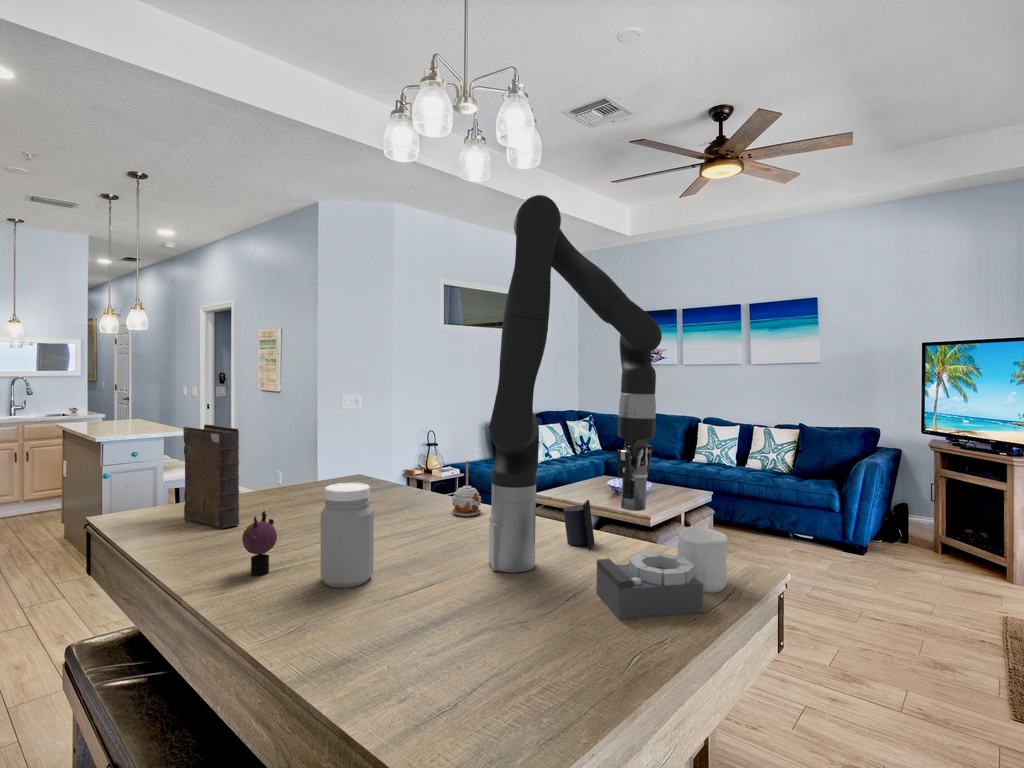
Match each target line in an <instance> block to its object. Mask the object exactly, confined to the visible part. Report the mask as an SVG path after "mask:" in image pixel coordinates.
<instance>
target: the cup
mask: <svg viewBox="0 0 1024 768" xmlns="http://www.w3.org/2000/svg"><path fill="white" fill-rule="evenodd" d="M677 537H678V540H677V542H678V543H677V553H676V556H680V557H681V558H685V559H686V560H688V561H689V562H691V563H692V564H694V578H696V579H697V580H698V581H700V582H701V583H703V593H706V594H707V593H710V594H711V593H718V592H723V590H724V589H725V588H726V586H727V583H728V581H727V580H728V565H727V564H728V562H727V550H728V549H727V548H728V545H729V538H728V536H727V535H726V534H724V533H723V532H720V531H717V530H714V529H710V528H706V527H701V526H685V527H681V528H679V529H678V531H677Z"/></svg>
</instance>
